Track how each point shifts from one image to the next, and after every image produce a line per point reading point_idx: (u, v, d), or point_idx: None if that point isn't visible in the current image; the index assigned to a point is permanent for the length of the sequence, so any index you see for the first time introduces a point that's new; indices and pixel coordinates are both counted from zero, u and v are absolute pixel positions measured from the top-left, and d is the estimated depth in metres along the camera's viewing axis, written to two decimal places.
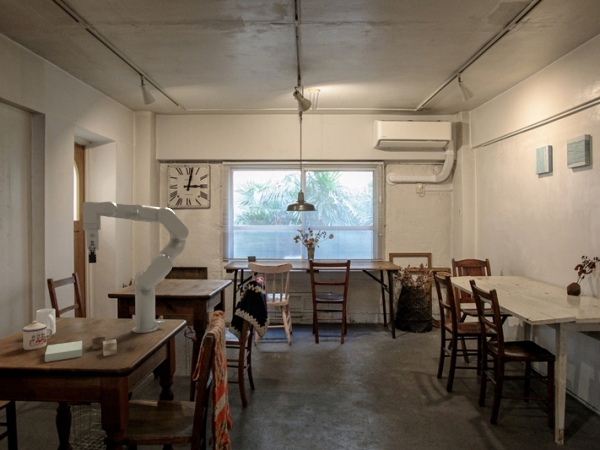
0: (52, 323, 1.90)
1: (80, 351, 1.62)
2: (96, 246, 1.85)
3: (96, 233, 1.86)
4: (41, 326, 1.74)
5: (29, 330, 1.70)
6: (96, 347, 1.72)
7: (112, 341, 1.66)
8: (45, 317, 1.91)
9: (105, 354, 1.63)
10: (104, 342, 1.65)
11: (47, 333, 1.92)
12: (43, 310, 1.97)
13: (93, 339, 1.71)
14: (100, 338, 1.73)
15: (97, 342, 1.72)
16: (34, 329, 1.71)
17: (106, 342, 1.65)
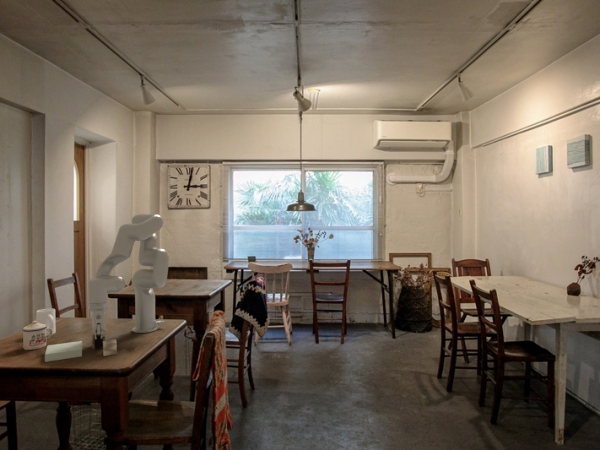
0: (52, 323, 1.90)
1: (80, 351, 1.62)
2: (103, 328, 1.71)
3: (103, 314, 1.71)
4: (41, 326, 1.74)
5: (29, 330, 1.70)
6: None
7: (112, 341, 1.66)
8: (45, 317, 1.91)
9: (105, 354, 1.63)
10: (104, 342, 1.65)
11: (47, 333, 1.92)
12: (43, 310, 1.97)
13: (93, 339, 1.71)
14: None
15: None
16: (34, 329, 1.71)
17: (106, 342, 1.65)
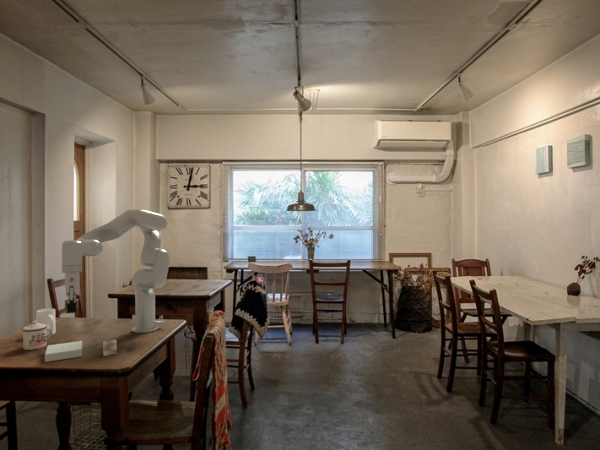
0: (52, 323, 1.90)
1: (80, 351, 1.62)
2: (76, 292, 1.63)
3: (76, 277, 1.63)
4: (41, 326, 1.74)
5: (29, 330, 1.70)
6: None
7: (112, 341, 1.66)
8: (45, 317, 1.91)
9: (105, 354, 1.63)
10: (104, 342, 1.65)
11: (47, 333, 1.92)
12: (43, 310, 1.97)
13: (66, 303, 1.63)
14: None
15: None
16: (34, 329, 1.71)
17: (106, 342, 1.65)
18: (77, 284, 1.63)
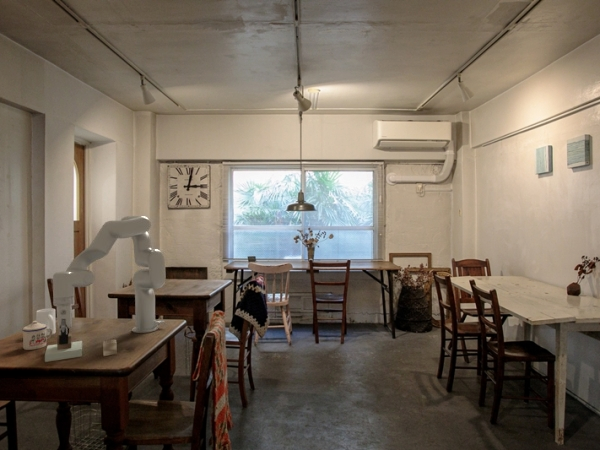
0: (52, 323, 1.90)
1: (80, 351, 1.62)
2: (68, 324, 1.61)
3: (68, 309, 1.61)
4: (41, 326, 1.74)
5: (29, 330, 1.70)
6: (61, 347, 1.62)
7: (112, 341, 1.66)
8: (45, 317, 1.91)
9: (105, 354, 1.63)
10: (104, 342, 1.65)
11: (47, 333, 1.92)
12: (43, 310, 1.97)
13: (58, 339, 1.61)
14: None
15: None
16: (34, 329, 1.71)
17: (106, 342, 1.65)
18: (69, 317, 1.61)
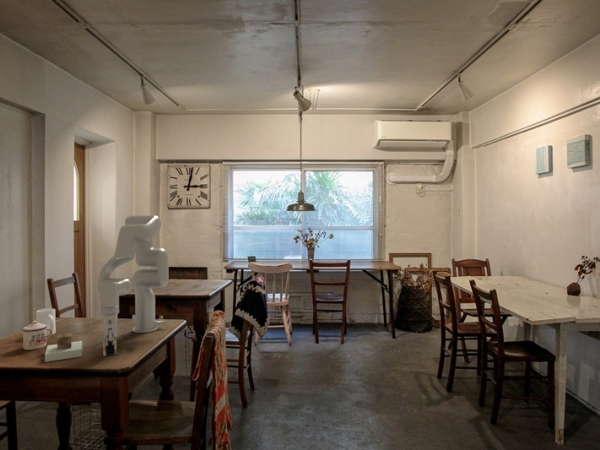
0: (52, 323, 1.90)
1: (80, 351, 1.62)
2: (115, 334, 1.62)
3: (114, 319, 1.63)
4: (41, 326, 1.74)
5: (29, 330, 1.70)
6: (61, 347, 1.62)
7: None
8: (45, 317, 1.91)
9: (105, 354, 1.63)
10: (104, 342, 1.65)
11: (47, 333, 1.92)
12: (43, 310, 1.97)
13: (58, 339, 1.61)
14: (66, 338, 1.63)
15: (62, 342, 1.62)
16: (34, 329, 1.71)
17: None
18: (115, 326, 1.62)
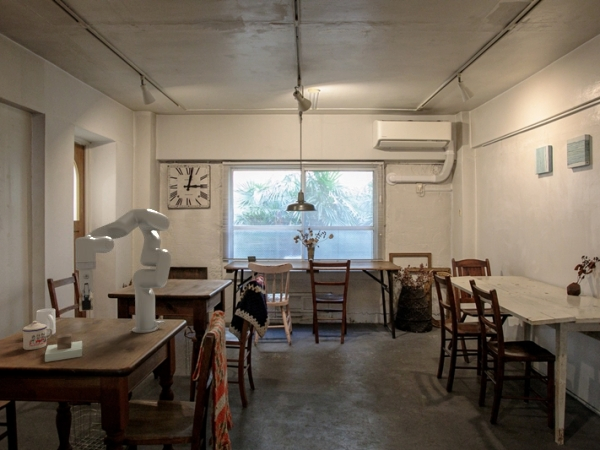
0: (52, 323, 1.90)
1: (80, 351, 1.62)
2: (91, 289, 1.62)
3: (91, 274, 1.62)
4: (41, 326, 1.74)
5: (29, 330, 1.70)
6: (61, 347, 1.62)
7: None
8: (45, 317, 1.91)
9: (81, 309, 1.62)
10: (80, 298, 1.64)
11: (47, 333, 1.92)
12: (43, 310, 1.97)
13: (58, 339, 1.61)
14: (66, 338, 1.63)
15: (62, 342, 1.62)
16: (34, 329, 1.71)
17: (82, 298, 1.64)
18: (92, 281, 1.62)
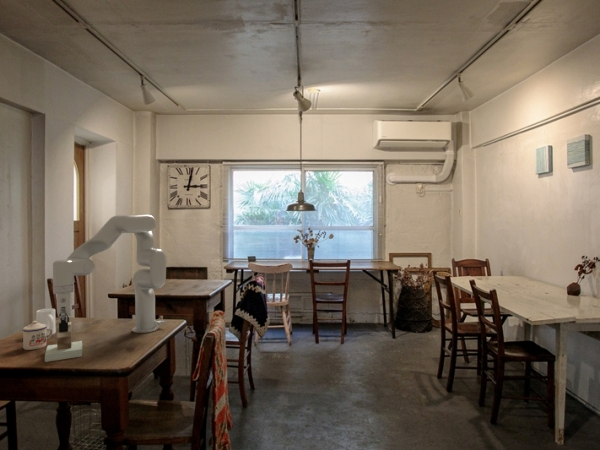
0: (52, 323, 1.90)
1: (80, 351, 1.62)
2: (68, 313, 1.61)
3: (68, 297, 1.61)
4: (41, 326, 1.74)
5: (29, 330, 1.70)
6: (61, 347, 1.62)
7: None
8: (45, 317, 1.91)
9: (59, 336, 1.61)
10: (58, 324, 1.64)
11: (47, 333, 1.92)
12: (43, 310, 1.97)
13: (58, 339, 1.61)
14: (66, 338, 1.63)
15: (62, 342, 1.62)
16: (34, 329, 1.71)
17: None
18: (69, 305, 1.61)
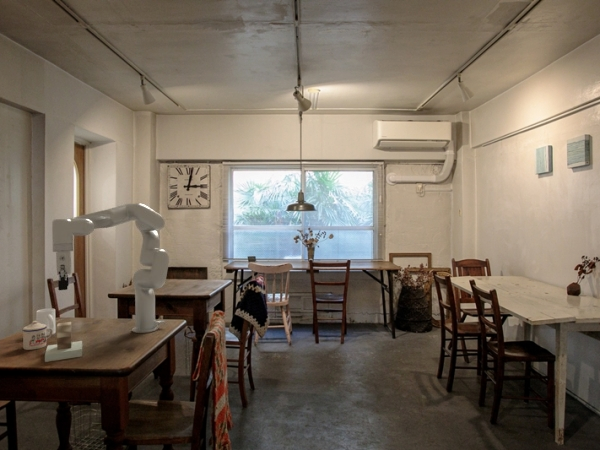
0: (52, 323, 1.90)
1: (80, 351, 1.62)
2: (68, 271, 1.61)
3: (67, 255, 1.61)
4: (41, 326, 1.74)
5: (29, 330, 1.70)
6: (61, 347, 1.62)
7: (67, 323, 1.65)
8: (45, 317, 1.91)
9: (59, 336, 1.61)
10: (58, 324, 1.64)
11: (47, 333, 1.92)
12: (43, 310, 1.97)
13: (58, 339, 1.61)
14: (66, 338, 1.63)
15: (62, 342, 1.62)
16: (34, 329, 1.71)
17: (60, 324, 1.64)
18: (68, 263, 1.61)
